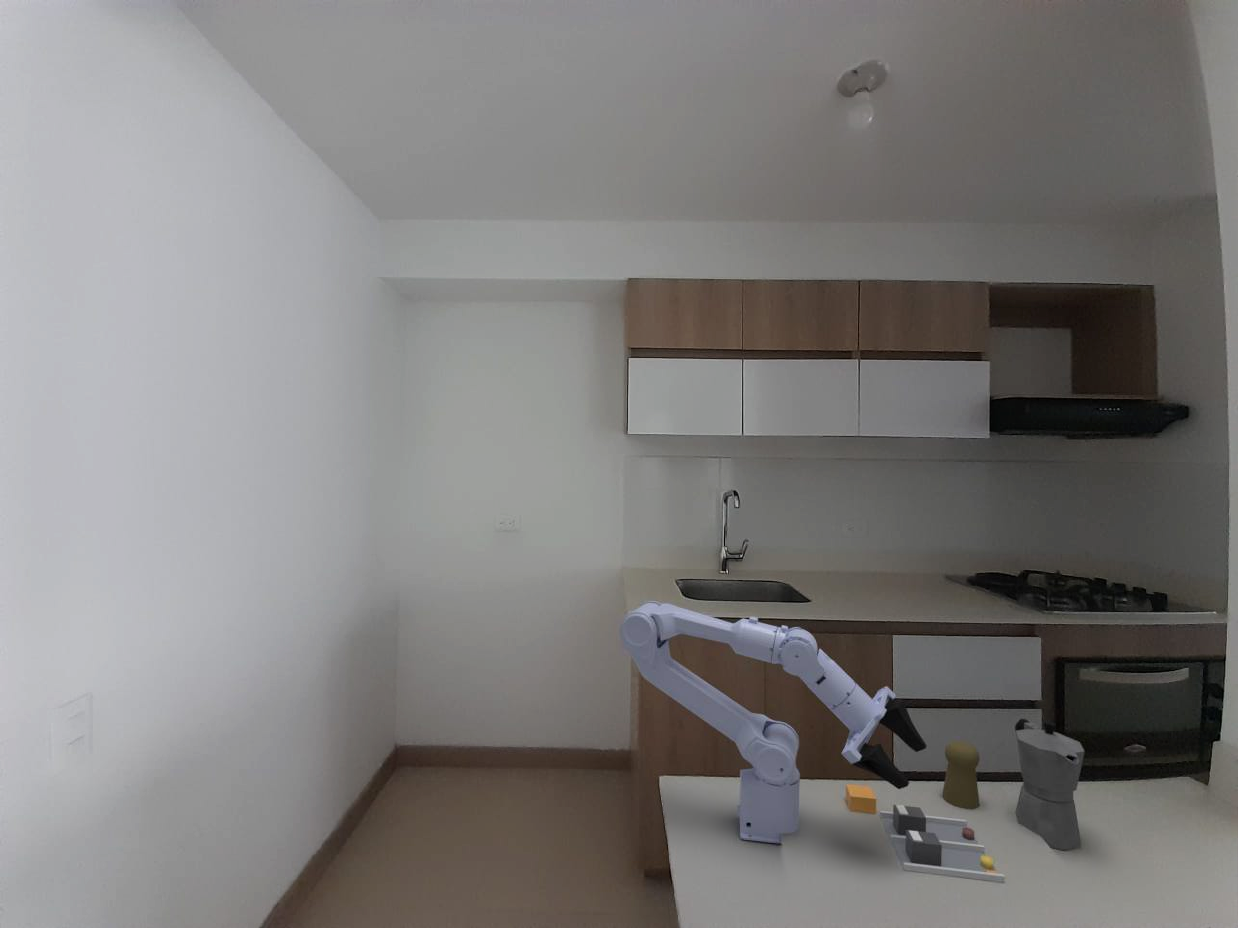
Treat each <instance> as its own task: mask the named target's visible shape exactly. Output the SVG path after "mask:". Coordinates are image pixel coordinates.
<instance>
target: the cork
mask: <svg viewBox="0 0 1238 928" xmlns="http://www.w3.org/2000/svg"><path fill="white" fill-rule="evenodd" d="M979 754H980V753H979V752H978V750H977V748H976V747H975V746H974V745H972V744H970V743H966V742H963V741H956V740H955V741H950V742H948V743H947V744H946V746H945V748H944V755H945V759H946V761H947V766H946V770H945V771H946V772H945V778H944V783H943V788H942V794H941V796H942V799H943V800H944V801H945V802H946V803H947V804H949V805H951V806H952V807H956V808H959V809H963V810H976V809H978V808H979V807H980V806H981V802H980V796H979V787H978V778H977V771H976V768H977V767H978V765H979V763H980V755H979Z"/></svg>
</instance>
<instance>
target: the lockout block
mask: <svg viewBox="0 0 1238 928" xmlns="http://www.w3.org/2000/svg"><path fill="white" fill-rule="evenodd" d="M845 800H846V803H847V806H848V808H849V811H850V812H857V813H864V814H865V813H866V814H875V815H876V814H877V797H876V796H875V793H874V790H873V789H872V787H871V786H866V785H858V784H857V785H856V784H850V783H849V784H847V783H846V784H845Z"/></svg>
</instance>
